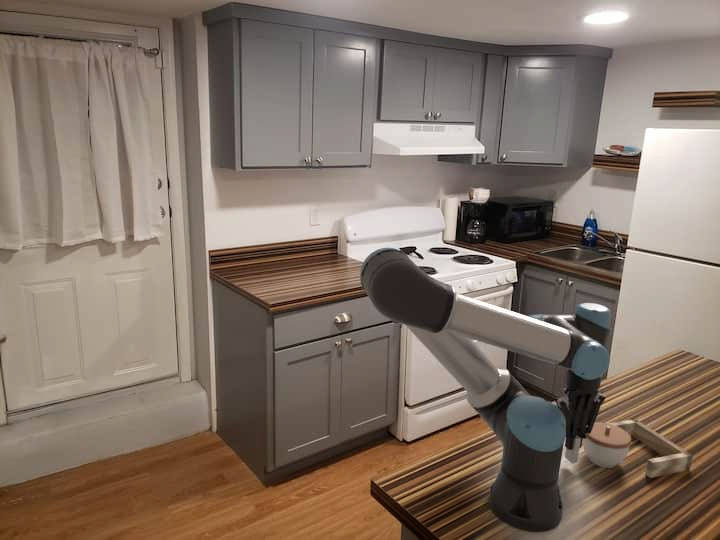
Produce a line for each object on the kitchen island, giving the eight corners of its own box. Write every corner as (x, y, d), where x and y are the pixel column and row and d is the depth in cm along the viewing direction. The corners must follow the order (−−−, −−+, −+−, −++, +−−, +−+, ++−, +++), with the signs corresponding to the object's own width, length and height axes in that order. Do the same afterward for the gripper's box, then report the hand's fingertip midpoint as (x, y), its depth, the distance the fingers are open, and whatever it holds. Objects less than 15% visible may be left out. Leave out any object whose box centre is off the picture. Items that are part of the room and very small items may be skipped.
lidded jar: (631, 476, 134) (637, 441, 131) (583, 469, 136) (589, 434, 133) (620, 452, 144) (626, 419, 142) (576, 446, 146) (581, 413, 144)
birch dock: (650, 477, 134) (653, 463, 133) (596, 438, 150) (598, 425, 149) (689, 469, 138) (692, 455, 137) (632, 432, 154) (635, 419, 153)
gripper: (572, 379, 125) (558, 473, 130) (619, 373, 129) (603, 464, 135) (551, 365, 131) (538, 455, 137) (595, 360, 136) (582, 447, 142)
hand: (571, 459), depth 136 cm, fingers closed
